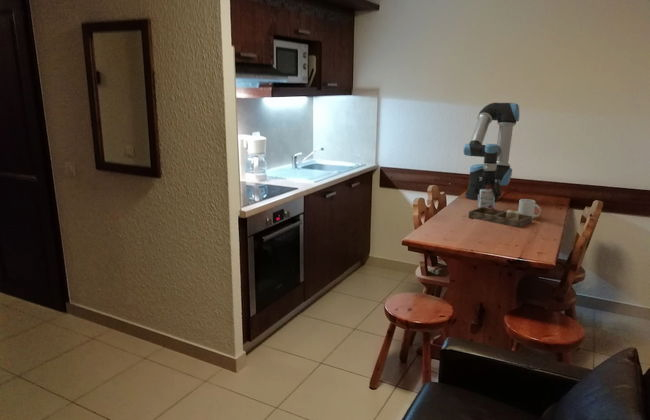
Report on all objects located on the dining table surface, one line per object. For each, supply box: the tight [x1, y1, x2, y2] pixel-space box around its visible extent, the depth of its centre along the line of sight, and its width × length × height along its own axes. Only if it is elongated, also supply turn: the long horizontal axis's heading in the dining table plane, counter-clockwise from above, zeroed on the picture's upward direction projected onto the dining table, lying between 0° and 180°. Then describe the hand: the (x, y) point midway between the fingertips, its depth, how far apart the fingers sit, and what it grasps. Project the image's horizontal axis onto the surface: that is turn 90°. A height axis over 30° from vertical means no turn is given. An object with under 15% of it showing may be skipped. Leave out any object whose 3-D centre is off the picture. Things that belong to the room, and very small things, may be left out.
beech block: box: [506, 209, 519, 221], centre depth 269 cm, size 6×6×6 cm
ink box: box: [478, 188, 495, 209], centre depth 294 cm, size 9×5×12 cm, turn 84°
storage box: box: [468, 207, 533, 229], centre depth 274 cm, size 30×16×4 cm, turn 45°
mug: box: [517, 198, 542, 220], centre depth 277 cm, size 9×12×11 cm
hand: (486, 205), depth 295 cm, fingers closed on ink box, 9 cm apart
